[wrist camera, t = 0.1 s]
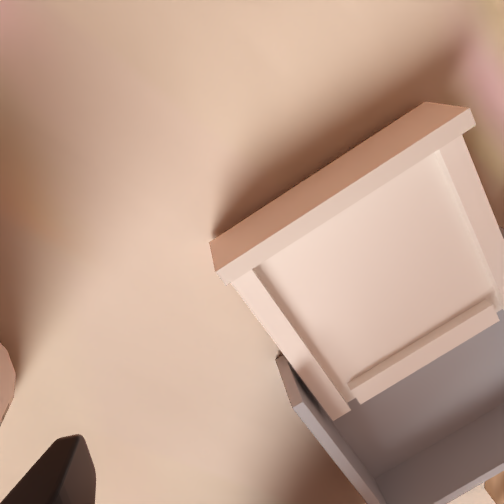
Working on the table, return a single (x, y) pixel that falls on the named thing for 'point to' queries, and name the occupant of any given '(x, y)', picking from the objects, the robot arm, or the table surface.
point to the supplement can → (6, 382)
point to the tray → (373, 259)
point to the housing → (419, 426)
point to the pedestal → (496, 488)
